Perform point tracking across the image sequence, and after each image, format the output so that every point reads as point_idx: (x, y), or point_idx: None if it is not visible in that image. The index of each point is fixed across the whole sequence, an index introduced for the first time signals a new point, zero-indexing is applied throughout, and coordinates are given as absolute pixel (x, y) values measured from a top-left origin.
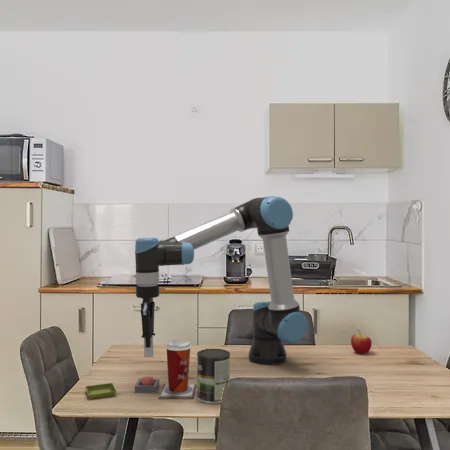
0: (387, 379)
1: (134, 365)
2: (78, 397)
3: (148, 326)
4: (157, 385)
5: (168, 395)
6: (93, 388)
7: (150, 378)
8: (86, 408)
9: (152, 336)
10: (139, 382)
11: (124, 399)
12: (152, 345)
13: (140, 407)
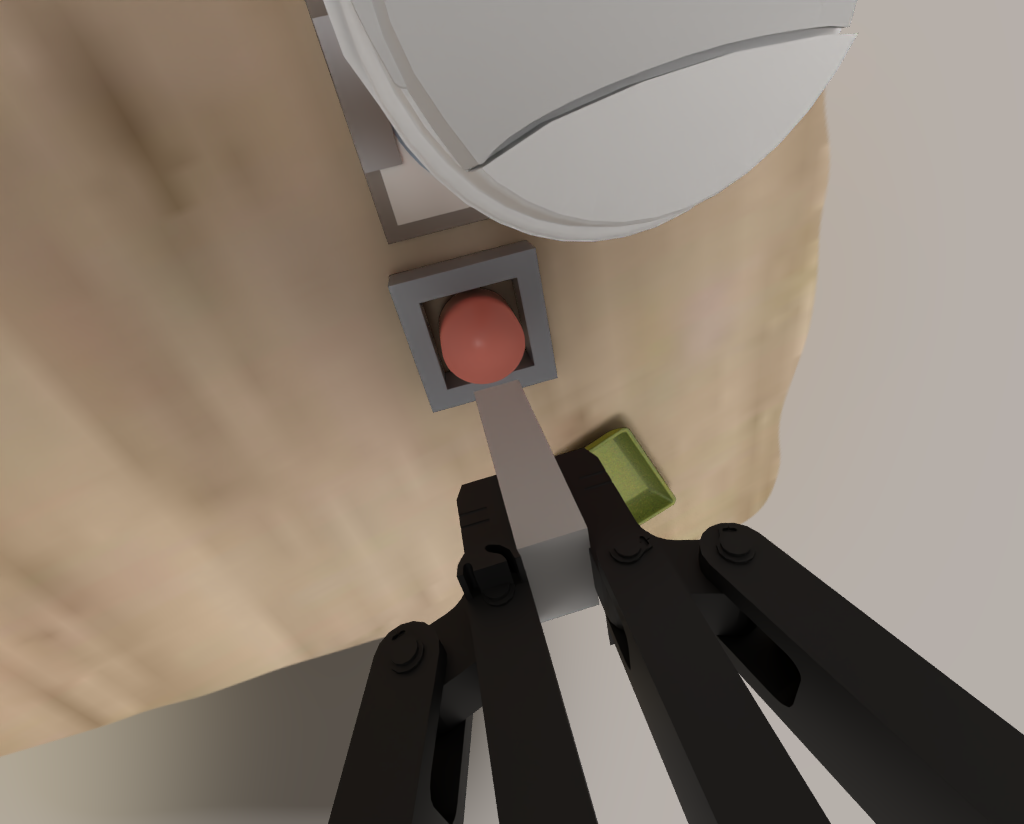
0: None
1: (117, 569)
2: None
3: (969, 712)
4: (480, 259)
5: None
6: None
7: (476, 327)
8: (747, 449)
9: (539, 544)
10: None
11: (647, 362)
12: (539, 450)
13: (751, 233)
